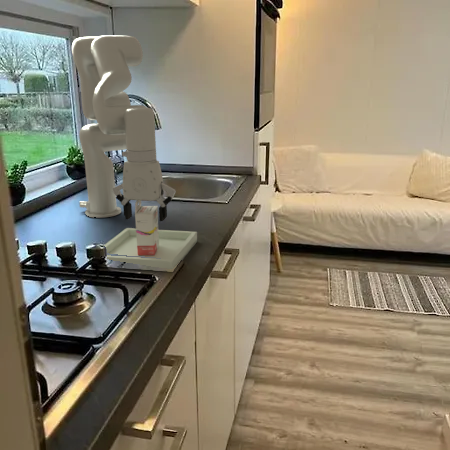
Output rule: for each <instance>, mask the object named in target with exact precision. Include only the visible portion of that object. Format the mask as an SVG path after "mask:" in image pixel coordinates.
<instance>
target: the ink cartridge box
mask: <svg viewBox="0 0 450 450" xmlns="http://www.w3.org/2000/svg"><path fill="white" fill-rule="evenodd" d="M134 209H135V210H134V219H135V228H136V236H137V250H138V255H155V253H156V251H157V249H158V246H159V235H158V230H159V206H158V205H142V200H135V208H134Z"/></svg>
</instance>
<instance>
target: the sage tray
mask: <svg viewBox="0 0 450 450" xmlns="http://www.w3.org/2000/svg"><path fill="white" fill-rule="evenodd" d="M158 235H159V246H158V249H157V251H156V253H155V255H138V250H137V236H136V227H135V228H134V227H133V228H132V227H126V228H124V229H123V230H122V231H121V232H120V233H118V234H117V235H115V236H114V237H113V238H112V239H110V240H108V241H107V242H106V243H105V244H103V246H105V247H106V249H107V253H109V254H118V255H127V256H145V257H156V258H161V259H156V258H141V257H126V256H111V255H107V259H109V260H113V261H120V262H126V263H133V264H140V265H146V266H151V267H159V268H167V269H173V268H174V267H175V266H176V265H177V264H178V263H179V261H181V260H182V261H183V260H184V259H185V258H186V256H187V255H188V254H189V252H190V251H191V250H192V249H193V248H194V246H195V245H196V243H198V232H197V231H187V230H169V229H158Z"/></svg>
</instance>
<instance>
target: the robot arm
mask: <svg viewBox="0 0 450 450" xmlns="http://www.w3.org/2000/svg"><path fill="white" fill-rule="evenodd" d="M71 53H72V58H73V62H74V64H75V67H76V69H77V71H78V75H79V81H80V92H81V93H80V94H81V95H80V97H81V106H82V107H81V108H82V113H83V116H84V117H85V118H86V119H87V120H90V121H96V123H90V124H86V125H83V126H82V127H81V128H80V130H79V135H78V137H79V143H80V144H81V149H82V153H83V160H84V169H85V177H86V179H85V180H86V188H87V198H88V199H87V201H85V200H80V201H79V208H83V209H84V208H85V210H84V211H85V212H84V214H86V215H87V217H88V216H89V217H90V218H94V217H96V218H100V219H101V218H102V219H103V218H109V217H110V218H111V217H114V216H118V215H120V214H121V213H122V208H123V216H124V218H125V220H130V219H131V218H133V207H132V203H131V201H137V200H141V201H142V202H143V201H144V202H145V201H151V202H154V201H156V202H157V204H159V205H160V206H158V221H159V222H164V221H165V220H166V218H167V216H168V208H167V207H168V205H169V204H170V202H171V201H172V200H173V198H174V196H175V194H176V189H174V188H173V187H171V186H170V185H167V184H166V183H164V181H163V180H164V179H163V173H162V168H161V164H160V161H159V160H157V145H156V142H157V141H156V125H155V124H156V123H155V112H154V110H153V109H152V108H150V107H147V106H145V105H141V104H131V100H130V97H129V95H128V94H127V93H126V92H125V90H126V89H127V88H129V86H130V85H131V83H132V81H133V79H132V74H131V71H130V68H129V67H138V66H139V65H141V64H142V61H143V58H144V57H143V48H142V45H141V43H140V41H139V40H138V39H137V38H136V37H135V36H131V35H115V34H114V35H111V34H109V35H107V34H106V35H99V36H83V37H78V38H75V39H74V40H73V42H72V45H71ZM123 150H124V151H123ZM112 151H113V152H114V151H122V153H121V154H122V155H121V156H122V157H123V158H124V157H125V158H126V161H124V162H123V170H122V183H121V184H119V185H117V186H116V182H115V171H114V170H115V169H114V163H113V161H112V160H111V158H110V157H108V156H107V155H106V152H112ZM121 190H122V192H121ZM165 192H167V194H168V195H167V196H166V197H165V196H164V193H165ZM117 200H118V201H119V202H120V204H121V206H122V208H121V207H120V206H118V205H117ZM86 215H85V216H86ZM89 217H88V218H89Z"/></svg>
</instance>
